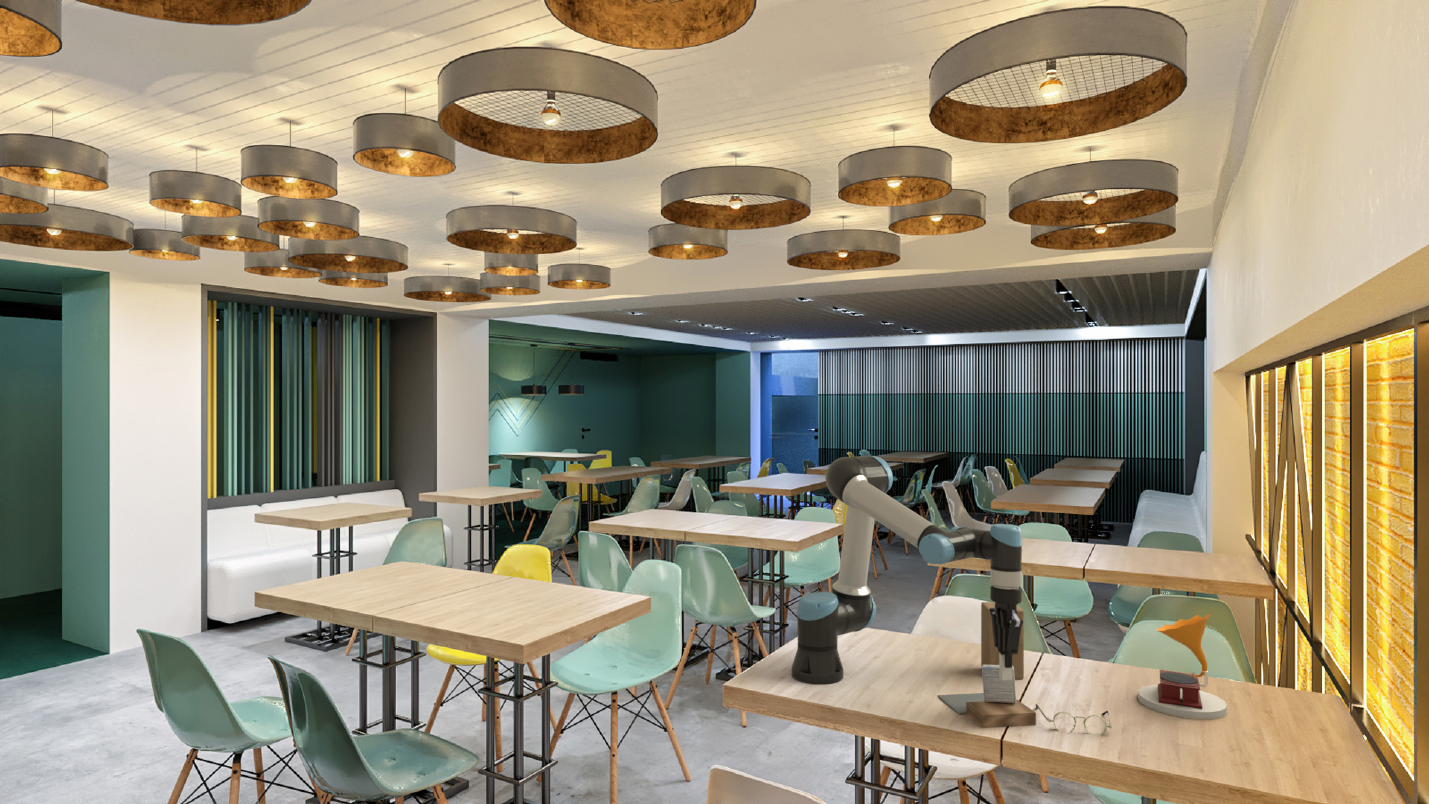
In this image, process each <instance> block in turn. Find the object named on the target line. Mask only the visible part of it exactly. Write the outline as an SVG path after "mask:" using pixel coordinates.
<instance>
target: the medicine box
mask: <svg viewBox="0 0 1429 804" xmlns="http://www.w3.org/2000/svg"><path fill="white" fill-rule="evenodd" d="M981 674H982V675H981V676H982V678H981V679H982V688H983V689H982V691H983V692H982V693H984V701H985V702H1007V703H1016V700H1017V692H1016V679H1015V676H1014V667H1013V666H1012V680H1001V679H1000V678H999V665H982V667H981Z"/></svg>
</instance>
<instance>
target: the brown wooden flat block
mask: <svg viewBox="0 0 1429 804" xmlns="http://www.w3.org/2000/svg"><path fill="white" fill-rule="evenodd" d="M965 715H967V716H968V717H969V718H970V719H972V720H973V721H974V722H975V723H976V724H977V725H979V726H980V727H981V728H1000V727H1003V728H1004V727H1020V726H1036V725H1037V712H1036V711H1034V710H1033V709H1031V708H1030V707H1028V706H1027V705H1025V703H1023V702H1022V701H1020V700H1019V699H1016V703H1007V702H985V701H982V702H966V714H965Z"/></svg>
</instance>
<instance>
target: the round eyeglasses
mask: <svg viewBox="0 0 1429 804" xmlns="http://www.w3.org/2000/svg"><path fill="white" fill-rule="evenodd" d="M1035 707H1036V710H1039V712H1040V713H1041V714H1042V716H1043V717H1044V719H1045V720H1046V721H1047V722H1048V723H1053V726H1054V728H1055V729H1054V730H1055V731H1060V730H1059V728H1057V727H1056V725H1055V719H1056V717H1057V716H1059V715H1060V714H1067V715H1069V716H1071V718H1072V719H1073V721H1074V724H1073V725H1072V726H1073V728H1072V729H1071V730H1070V733H1071V732H1073V731H1075V728H1076V723H1077V720H1076V719H1077V718H1079V719H1083V728H1084V729H1085V731H1086V733H1089V732H1088V731H1087V729H1086V728H1087V726H1086V721H1087V720H1088V719H1089V718H1090V717H1097V718H1100V719H1101V720H1103V722H1104V724H1105V727H1104V729H1103V730H1102V732H1100V735H1102V736H1104V735H1105V733H1106V731H1107V728H1108V729H1112V727H1113V726H1112V722H1111V718H1110V713H1109V710H1106V711H1104V712H1102V713H1101V715H1102V716H1105V715H1106V714H1107V715H1108V721H1109V723H1108V725H1107V722H1106V721H1105V719H1104V718H1103V717H1102V716H1101V715H1099V714H1092V715H1088V716H1087V717H1084V716H1077V715H1076V716H1073V715H1072V714H1071V713H1068V712H1067V711H1059V712H1057V713H1055V714H1054V715H1053V719H1051V718H1049V716H1047V715H1046V714H1045V712H1044V711H1043V710H1042V708H1040V706H1039V705H1038V704H1037V703H1036V704H1035Z"/></svg>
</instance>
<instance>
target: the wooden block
mask: <svg viewBox="0 0 1429 804" xmlns="http://www.w3.org/2000/svg"><path fill="white" fill-rule="evenodd" d="M980 604H981V605H980V610H981V611H980V612H981V613H980V616H981V617H980V618H981V619H980V622H981V623H980V624H981V625H980V627H981V628H980V639H981V640H980V643H981V644H980V647H981V648H980V655H981V657H980V658H981V659H980V661H981V663H980V666H981V668H982V665H999V653H1000V652H999V651H998V648H997V647H995V645H994V636H993V627H992V618H991V614H990V608H994V607H995V602H993V601H992V602H990V601H988V602H987V601H982V602H981V603H980ZM1016 607H1017V612H1018V613H1017V616H1018V618H1019V619H1022V620H1023V624H1022V627H1021V632H1020V640H1019V647H1018V654H1013V655H1012V666H1013V667H1014V676H1015V680H1024V679H1025V678H1024V677H1025V676H1024V674H1025V673H1024V672H1025V671H1024V670H1025V668H1024V667H1025V663H1024V661H1025V657H1024V656H1025V653H1024V651H1025V643H1024V641H1025V640H1024V639H1025V634H1024V633H1025V632H1024V631H1025V630H1024V629H1025V624H1024V623H1025V622H1024V621H1025V619H1024V618H1025V617H1024V615H1025V614H1024V612H1025V611H1024V610H1023V609H1022V608H1021V607H1020V606H1018V604H1017V605H1016Z"/></svg>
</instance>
